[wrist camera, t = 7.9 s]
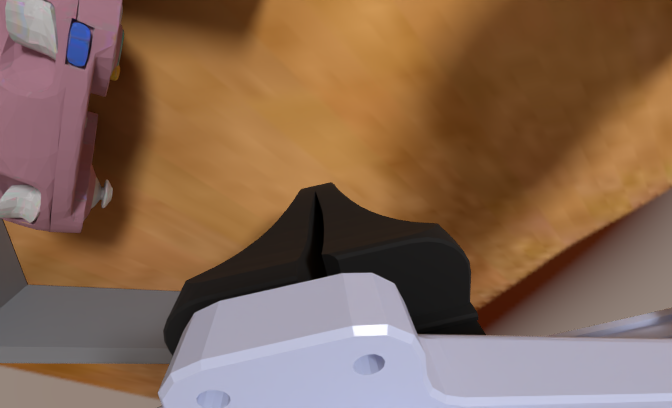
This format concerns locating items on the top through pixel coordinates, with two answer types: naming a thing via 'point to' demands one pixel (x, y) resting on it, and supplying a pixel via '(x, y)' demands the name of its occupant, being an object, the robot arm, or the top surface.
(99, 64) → the video game controller
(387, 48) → the top surface
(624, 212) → the top surface
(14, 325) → the box
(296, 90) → the top surface
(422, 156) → the top surface
